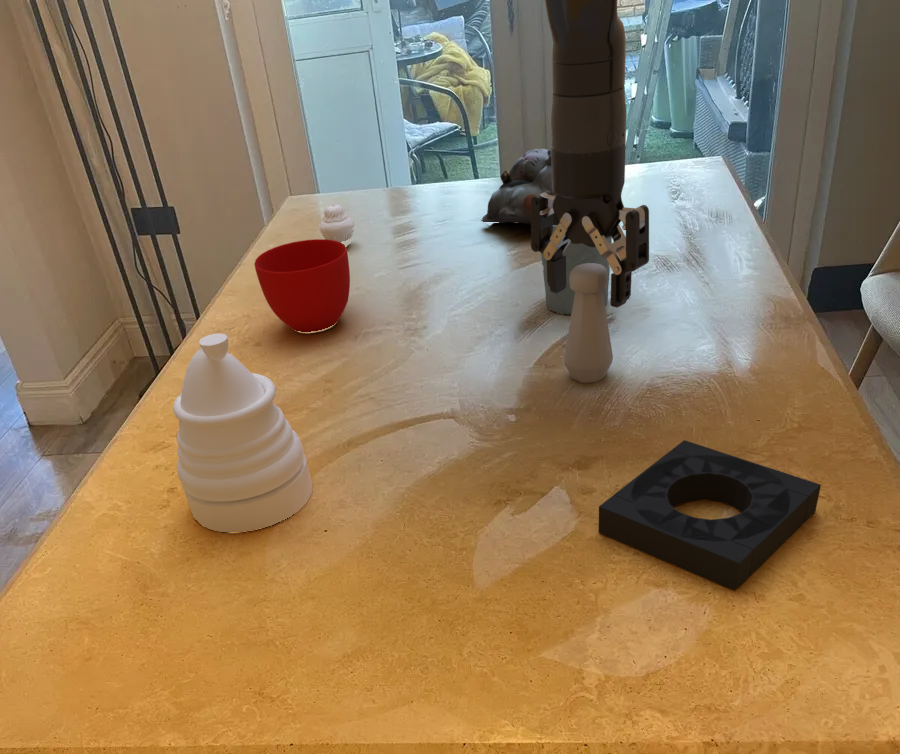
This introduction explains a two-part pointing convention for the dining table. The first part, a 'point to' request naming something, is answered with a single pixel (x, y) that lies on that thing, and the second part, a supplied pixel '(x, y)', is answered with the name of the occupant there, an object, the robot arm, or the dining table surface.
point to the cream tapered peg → (588, 325)
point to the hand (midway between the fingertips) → (587, 297)
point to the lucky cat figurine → (521, 188)
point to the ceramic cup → (306, 282)
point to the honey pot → (236, 445)
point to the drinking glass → (574, 257)
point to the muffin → (336, 224)
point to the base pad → (703, 540)
